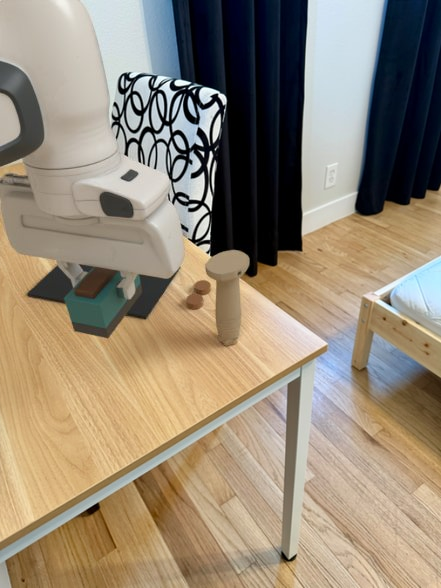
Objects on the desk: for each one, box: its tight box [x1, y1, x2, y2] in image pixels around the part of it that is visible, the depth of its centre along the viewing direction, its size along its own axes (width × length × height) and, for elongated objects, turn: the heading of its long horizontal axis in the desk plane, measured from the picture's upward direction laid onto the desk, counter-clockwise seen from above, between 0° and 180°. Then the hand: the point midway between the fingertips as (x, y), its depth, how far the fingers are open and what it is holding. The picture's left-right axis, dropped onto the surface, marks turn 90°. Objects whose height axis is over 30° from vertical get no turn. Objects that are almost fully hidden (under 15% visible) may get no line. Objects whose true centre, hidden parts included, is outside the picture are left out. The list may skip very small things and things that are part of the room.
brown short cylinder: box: [185, 293, 204, 310], centre depth 76 cm, size 3×3×1 cm
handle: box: [204, 249, 250, 347], centre depth 64 cm, size 5×6×15 cm
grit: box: [193, 279, 212, 296], centre depth 79 cm, size 3×3×1 cm
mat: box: [26, 264, 181, 320], centre depth 82 cm, size 24×16×1 cm, turn 73°
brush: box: [64, 267, 142, 339], centre depth 51 cm, size 4×9×6 cm, turn 163°
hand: (105, 291), depth 51 cm, fingers closed on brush, 4 cm apart
